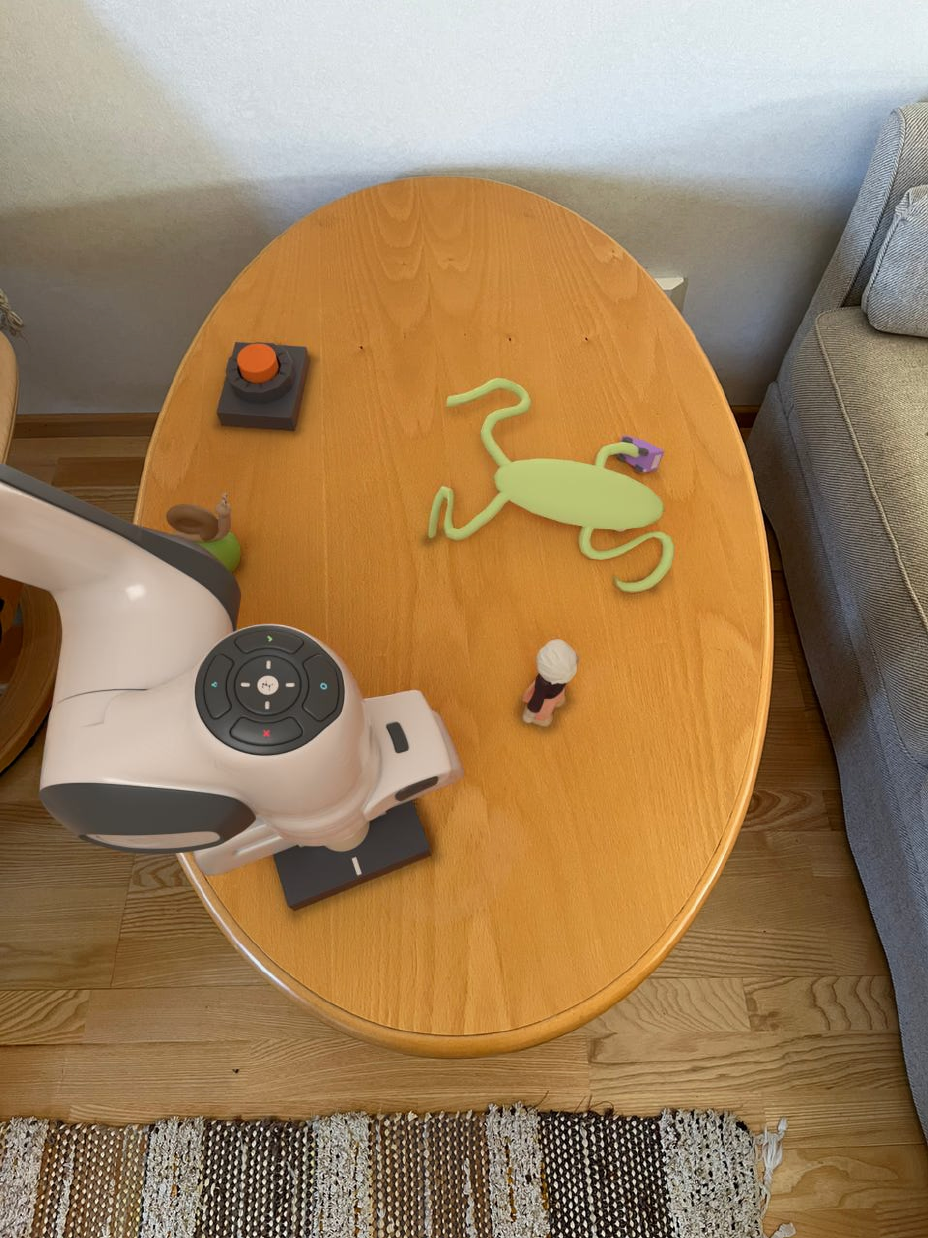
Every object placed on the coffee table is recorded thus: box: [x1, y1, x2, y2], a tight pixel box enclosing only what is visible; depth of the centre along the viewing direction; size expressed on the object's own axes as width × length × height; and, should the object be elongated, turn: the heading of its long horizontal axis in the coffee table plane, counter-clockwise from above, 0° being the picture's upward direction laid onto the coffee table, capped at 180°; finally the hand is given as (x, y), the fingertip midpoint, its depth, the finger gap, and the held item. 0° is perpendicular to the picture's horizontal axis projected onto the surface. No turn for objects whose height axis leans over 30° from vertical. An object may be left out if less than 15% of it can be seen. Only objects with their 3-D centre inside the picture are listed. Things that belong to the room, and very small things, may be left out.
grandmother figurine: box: [521, 638, 581, 728], centre depth 71 cm, size 8×4×13 cm, turn 155°
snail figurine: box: [165, 492, 242, 574], centre depth 77 cm, size 5×6×12 cm
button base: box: [216, 341, 310, 432], centre depth 91 cm, size 10×8×4 cm
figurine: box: [427, 377, 675, 594], centre depth 84 cm, size 18×27×6 cm
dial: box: [325, 821, 369, 852], centre depth 67 cm, size 4×4×4 cm
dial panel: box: [272, 800, 432, 912], centre depth 70 cm, size 12×9×3 cm
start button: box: [237, 344, 278, 384], centre depth 88 cm, size 4×4×2 cm
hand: (341, 821), depth 68 cm, fingers closed on dial, 4 cm apart
